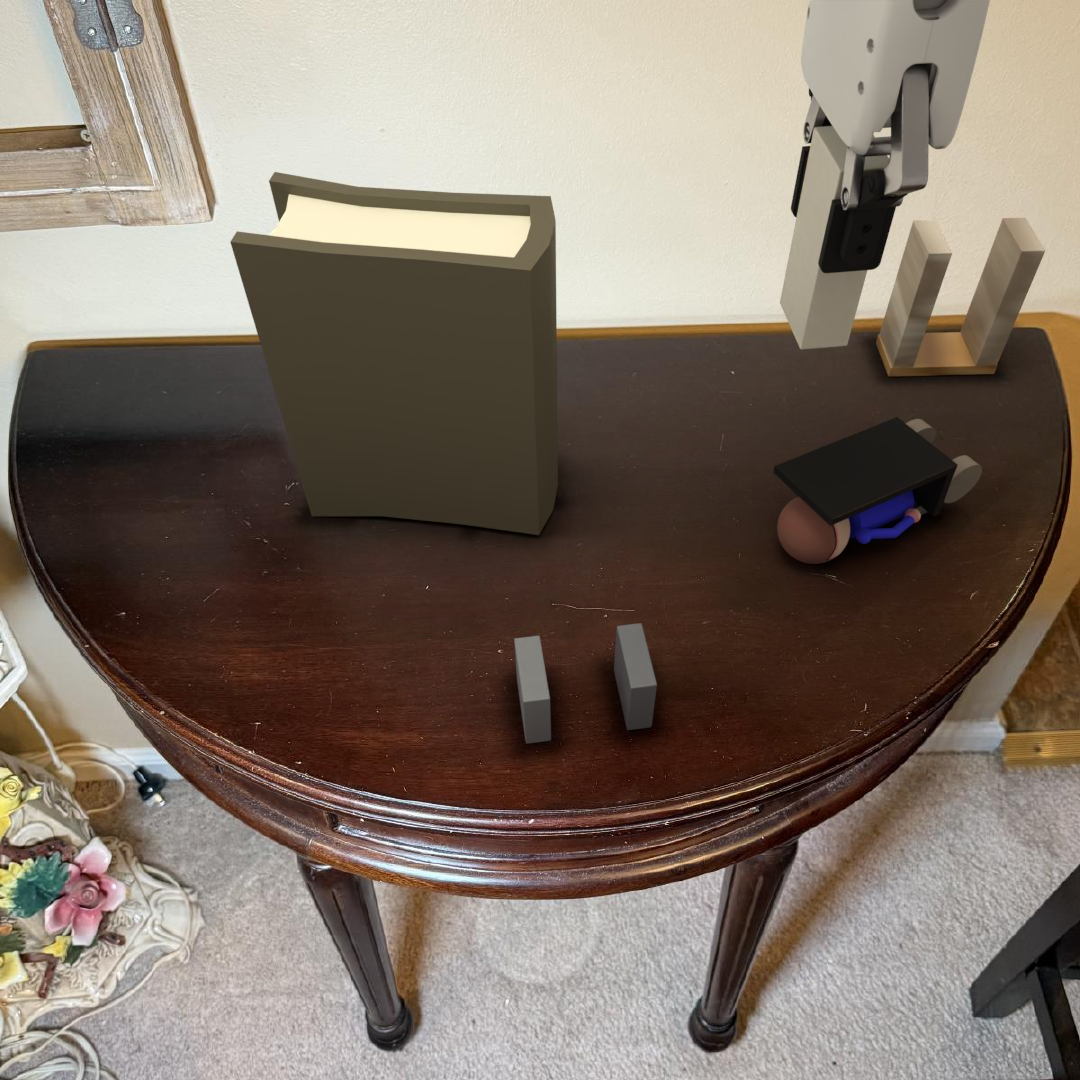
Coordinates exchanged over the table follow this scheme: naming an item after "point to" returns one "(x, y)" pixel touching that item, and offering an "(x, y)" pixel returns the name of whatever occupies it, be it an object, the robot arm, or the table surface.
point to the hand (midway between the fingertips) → (833, 237)
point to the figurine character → (867, 488)
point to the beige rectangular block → (809, 294)
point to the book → (412, 349)
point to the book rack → (986, 316)
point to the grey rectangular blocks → (629, 672)
